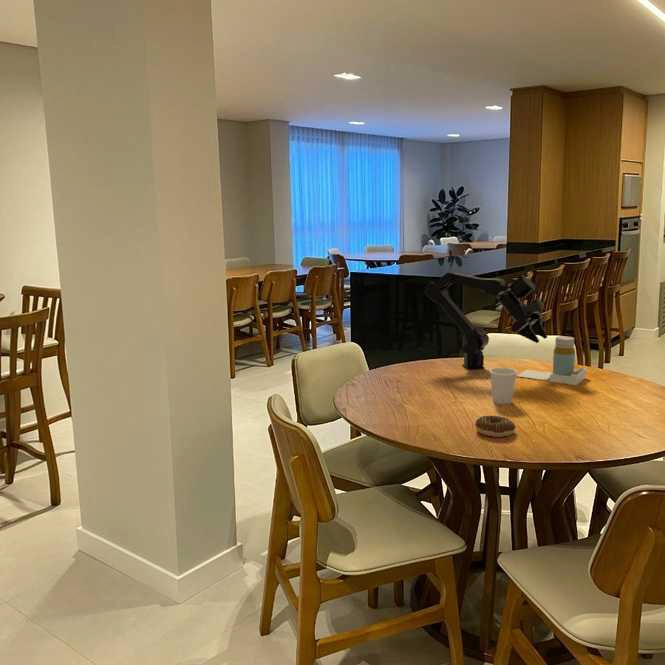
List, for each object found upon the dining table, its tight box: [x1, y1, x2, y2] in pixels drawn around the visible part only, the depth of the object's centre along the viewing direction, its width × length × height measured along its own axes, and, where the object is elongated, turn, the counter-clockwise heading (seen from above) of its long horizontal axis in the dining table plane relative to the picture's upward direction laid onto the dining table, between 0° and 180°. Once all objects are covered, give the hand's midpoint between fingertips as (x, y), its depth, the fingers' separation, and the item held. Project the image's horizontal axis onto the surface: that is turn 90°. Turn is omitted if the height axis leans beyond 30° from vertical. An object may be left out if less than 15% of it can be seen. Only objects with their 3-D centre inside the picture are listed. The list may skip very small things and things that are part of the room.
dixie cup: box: [489, 367, 518, 405], centre depth 206 cm, size 8×8×10 cm
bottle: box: [552, 335, 576, 376], centre depth 232 cm, size 7×7×15 cm
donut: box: [474, 415, 516, 438], centre depth 179 cm, size 11×11×4 cm
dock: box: [549, 367, 587, 386], centre depth 232 cm, size 9×12×4 cm
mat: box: [516, 369, 553, 382], centre depth 238 cm, size 11×11×1 cm
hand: (542, 340), depth 235 cm, fingers open, 9 cm apart
